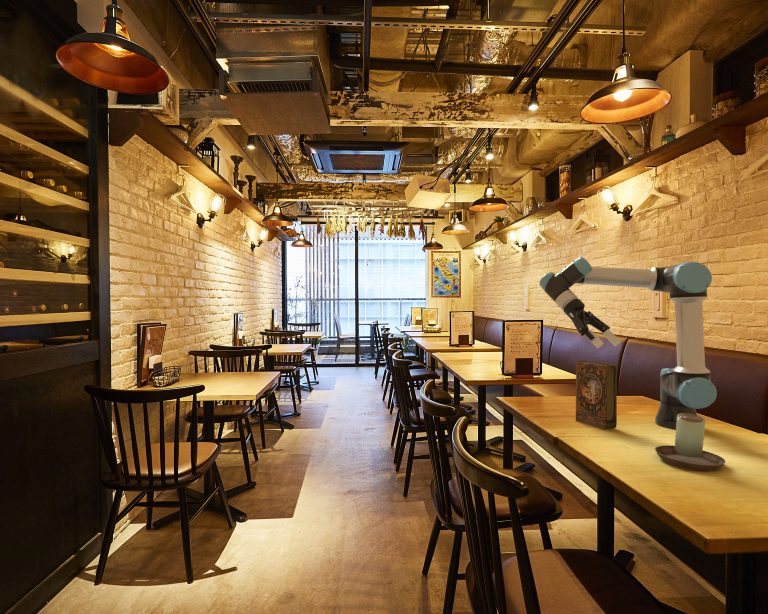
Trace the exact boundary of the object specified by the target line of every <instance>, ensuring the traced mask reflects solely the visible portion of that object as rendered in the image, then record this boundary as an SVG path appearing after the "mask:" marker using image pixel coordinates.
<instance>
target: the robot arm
mask: <svg viewBox="0 0 768 614" xmlns="http://www.w3.org/2000/svg"><path fill="white" fill-rule="evenodd" d="M712 280H713V276H712V272H711V270H710V269H709V268H708V267H707V265H705V264H703V263H701V262H699V261H685V262H684V261H683V262H681V263H678V264H674V265H669V266H661V267H660V266H658V267H655V266H653V267H651V268H650V269H648V268H647V269H645V268H625V267H608V266H607V267H605V266H604V267H602V266H592V265H591V264H590V262H589V261H588V260H587V259H586V258H585V257H583V256H579V257H578V258H575V259H573V260H572V262H570V263H569V264H568V265H565V266H564V267H563V268H562V269H561V270H560V271H558V272H557V273H554V272H552V271H550V272H548V273H545V274H544V275H543V276H541V278H540V280H539V286H540V287H541V289H542V291H544V292H545V293H546V295H548V297H550V298H551V300H552V301H553V302H554V303H555V304H556V305H557V308H560V309H561V310H562V311H563V313H564V314H565V315H566V316H567V317H568V318H570V320H571V321H572V324H573V325H574V327H575V329H576V331H577V332H578V333H579V334H580V336H582V337H584V336H585V337H586V338H587V339H588V340H589V342H591V343H592V344H593V346H594V347H595V348H596V349H600V348H601V347H602V346H603V345H604V344H605V343H604V341H602V340H601V338H599V336H597V334H596V333H595V332H594V331H592V330H591V329H589V326H592V327H593V328H595V329H596V330H597V331H598V332H601V333H602V335H603V336H604V338H606V340H608V341H609V342H610V343H611V345H613V347H617V346H619V345H620V343H621V340H620V339H619V338H618V337H617V336H616V335H615V334H614V333H613V331H611V330H610V329H611V327H610V325H608V324H606V323H605V322H604V321H602V320H601V319H600V318H598V317H597V316H596V315H595V314H593V312H591V311H590V310H588V311H586V310H585V307H586V306H585V303H584V302H583V301H582V300H581V299H580V298H578V296H577V295H576V294H575V293H574V292H573V291H572V290H571V289H570V288H572V287H573V286H574V285H576V284H579V285H580V284H581V285H594V286H595V285H596V286H597V285H599V286H612V287H614V286H615V287H616V286H617V287H626V288H627V287H630V288H642V289H643V288H646V289H648V290H649V291H650V292H654V291H655V292H663V293H668V294H669V300H670V301H671V302H672V303H673V304H674V315H675V316H674V317H675V320H674V322H675V341H676V344H675V345H676V346H675V347H676V364H677V365H676V366H675V367H674V368H667V367H666V368H662V369H661V371H660V375H659V378H660V380H659V382H660V383H659V384H660V386H659V387H660V388H659V389H660V391H659V392H660V393H659V394H660V395H659V397H660V401H659V402H660V405H659V407H658V410H657V413H656V415H655V424H656V425H658V426H661V427H665V428H668V429H673V430H676V423H677V415H678V414H680V413H691V414H695V415H698V413H697V410H698V409H705V408H707V407H710V405H712V404H713V403H714V402H715V401H716V399H717V396H718V394H717V392H718V391H717V388H716V386H715V385H714V383H713V382H712V379H711V376H712V375H711V371H710V370H709V369H708V368H707V367H706V362H705V361H706V357H705V336H704V335H705V334H704V333H705V332H704V313H703V312H704V311H703V310H704V309H703V308H704V307H703V303H704V301H706V299H707V298H708V289H709V286H711V284H712ZM588 325H589V326H588ZM696 409H697V410H696Z"/></svg>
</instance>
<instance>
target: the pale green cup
mask: <svg viewBox="0 0 768 614" xmlns="http://www.w3.org/2000/svg"><path fill="white" fill-rule="evenodd" d="M705 428H706V419H705V418H704V417H703V416H700V415H698V414H697V415H695V414H691V413H680V414H678V415H677V423H676V429H675V434H674V435H675V439H674V446H675V448H674V449H675V451H676V452H677V453H679V454H681V455H683V456H687V457H692V458H697V457H701V456H702V451H703V448H704V439H705V438H704V437H705Z"/></svg>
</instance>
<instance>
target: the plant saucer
mask: <svg viewBox="0 0 768 614" xmlns="http://www.w3.org/2000/svg"><path fill="white" fill-rule="evenodd" d="M674 448H675V445H659V446H656V447H655V448H654V450H655V452H656V455H657V456H658V458H660V459H661V461H663V462H664V463H666V464H669V465H670V464H671V465H670V466H673V467H676V466H677V468H680V469H684V470H685V469H686V470H691V471H697V472H713V471H714V472H715V471H717V470H719V469H721V468H722V467H723V466H724V465H725V463H726V459H724V458H723V457H722V456H720V455H718V454H715V453H714V452H710V451H707V450H703V451H702V456H701V457H697V458H692V457H687V456H683V455H681V454H679V453H677V452H676V451H675V449H674Z"/></svg>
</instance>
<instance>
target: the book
mask: <svg viewBox="0 0 768 614" xmlns="http://www.w3.org/2000/svg"><path fill="white" fill-rule="evenodd" d="M617 369H618V368H617V365H616V364H610V363H603V362H598V361H597V362H595V361H589V360H576V361H575V421H576V422H578V423H581V424H584V425H588V426H591V427H594V428H598V429H601V430H607V429H616V428H617V425H618V424H617V423H618V420H617V419H618V418H617V416H618V415H617V413H618V411H617V409H618V408H617V406H618V405H617V404H618V403H617V400H618V398H617V397H618V396H617V393H618V390H617V389H618V387H617V384H618V382H617V380H618V379H617V377H618V376H617Z"/></svg>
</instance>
